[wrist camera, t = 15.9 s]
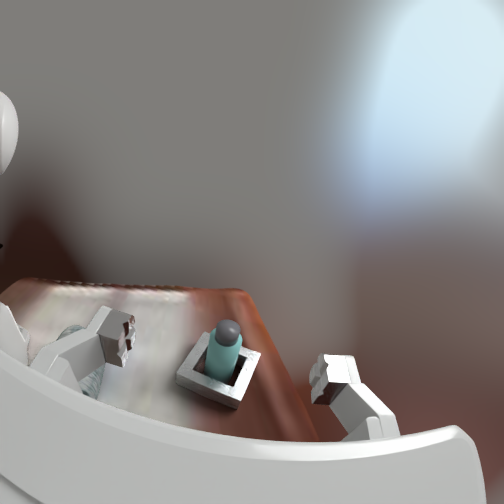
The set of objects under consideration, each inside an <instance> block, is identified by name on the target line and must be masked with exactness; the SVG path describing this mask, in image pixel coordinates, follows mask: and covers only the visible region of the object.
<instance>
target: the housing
mask: <svg viewBox="0 0 504 504" xmlns="http://www.w3.org/2000/svg"><path fill="white" fill-rule="evenodd" d="M209 338H210V334H209V333H207V332H204V333H203V334H202V336H201V337H200V339H199V340H198V342H197V343H196V345H195V346H194V348H193V349H192V350H191V352H190V353H189V355H188V356H187V358H186V359H185V361H184V362H183V364H182V365H181V366H180V368H179V369H178V371H177V372H176V384H178V385H180V386H183V387H185V388H187V389H189V390H191V391H193V392H195V393H198V394H200V395H202V396H204V397H207V398H209V399H211V400H214V401H216V402H218V403H221V404H223V405H226V406H228V407H231V408H233V409H236V410H237V409H238V407H239V404H240V402H241V400H242V397H243V395H244V393H245V391H246V388H247V386H248V383H249V381H250V379H251V376H252V374H253V372H254V369H255V367H256V364H257V362H258V359H259V357H260V353H257V352H254V351H252V350H249V349H247V348H244V347H241V348H240V351H239V354H238V358H237V361H236V364H235V365H237V366H240V367H242V370H241V372H240V374H239V376H238V378H237V381H236V383H235V385H234V387H231V386H229V385H226V384H224V383H222V382H219V381H217V380H214V379H212V378H210V377H207V376H205V375H203V374H201V373H198V372H197V370H198V368H199V367H200V365H201V364H202V362H203V360H204V359H205V357H206V355H207V349H208V343H209Z"/></svg>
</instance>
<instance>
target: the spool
mask: <svg viewBox="0 0 504 504" xmlns="http://www.w3.org/2000/svg"><path fill="white" fill-rule="evenodd" d="M81 329H86V328H84V327H82V326H78V325H72V326H70V327H68V328H67V329H65V330H64V331H63V332H62V333H61V335H60V336H59V337H58V339H57V340H59V339H61V338H63V337H65V336H68V335H70V334H72V333H74V332H76V331H79V330H81ZM57 340H56V341H57ZM104 368H105V364H104V365H102V366H101V367H99V368H98V369H97V370H95V371H94V372H92V373H91V374H89V375H88V376H86V377H85V378H84V379H82V380H81V381H79V382H78V384H79V386H80V388H81V390H82V392H83V394H84V395H86V396H89V397H91V398H93V399H96V400H97V396H98V393H99V390H100V385H101V381H102V377H103V373H104Z"/></svg>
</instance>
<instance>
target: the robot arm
mask: <svg viewBox="0 0 504 504" xmlns="http://www.w3.org/2000/svg"><path fill="white" fill-rule="evenodd" d="M17 139H18V118H17V114H16V110H15V108H14V106H13V104H12V102H11V101H10V99H9V98H8V97H7V96H6V95H5V94H3V93H2V92H0V174H2V173H3V172H4V171H5V169H6V168H7V166H8V164H9V163H10V161H11V159H12V156H13V154H14V151H15V148H16V144H17ZM134 323H135V319H134V316H133V315H130V314H127V313H124V312H121V311H118V310H115V309H111V308H108V307H106V306H102V307H100V309H99V310H98V312H97V313H96V314H95V316H94V317H93V319H92V320H91V322H90V323H89V325H88V326H87V328H86V329H81V330H79V331H76V332H74V333H72V334H70V335H68V336H65V337H63V338H61V339H59V340H57V341H55V342H52V343H50V344H48V345H46V346H44V347H42V348H41V350H40V351H39V353H38V354H37V356H36V357H35V359H34V360H33V362H32V363H31V365H30V366H28V354H27V346H28V344H29V340H30V335H29V333H28V331H27V330H26V329H24V328H22V327H21V326H19V325H18V324H16V322H15V320H14V318H13V315H12V313H11V311H10V309H9V307H8V306H5V305H4V304H3V303H1V302H0V504H486V495H485V487H484V480H483V474H482V469H481V465H480V460H479V456H478V452H477V449H476V446H475V444H474V442H473V440H472V439H471V438H470V437H469V436H468V435H467V434H466V433H465V432H464V431H463V430H462V429H460V428H459V427H458V426H456V425H451V426H447V427H443V428H439V429H434V430H430V431H425V432H420V433H415V434H409V435H404V436H400V433H399V429H398V425H397V422H396V418H395V415H394V414H393V413H392V412H391V411H390V410H389V409H388V408H387V407H386V406H385V405H384V404H383V403H382V402H381V401H380V400H379V399H378V398H377V397H376V396H375V395H374V394H373V393H372V392H371V391H370V390H369V389H368V388H367V386H366V385H365V384H361V381H360V378H359V374H358V371H357V367H356V364H355V360H354V357H353V356H348V355H337V354H326V353H322V354H320V355H319V357H318V363H316V364H314V365H313V367H312V369H311V372H310V384H311V386H312V387H313V390H312V391H311V396H312V403H313V404H321V405H329V406H330V408H331V409H332V411H333V412H334V413H335V415H336V416H337V418H338V419H339V420H340V422H341V423H342V425H343V426H344V428H345V429H346V430H347V432H348V433H349V435H348V436H346V437H345V438H344V439H343V440H342V441H341V442H283V441H269V440H258V439H249V438H241V437H233V436H227V435H220V434H214V433H209V432H204V431H199V430H194V429H189V428H185V427H180V426H176V425H172V424H168V423H164V422H161V421H157V420H154V419H150V418H147V417H143V416H140V415H137V414H134V413H131V412H128V411H125V410H122V409H119V408H117V407H114V406H111V405H108V404H106V403H103V402H101V401H98V400H96V399H93V398H91V397H89V396H86V395H84V394H83V392H82V390H81V388H80V386H79V384H78V382H79V381H81V380H82V379H84V378H85V377H86V376H88V375H89V374H91V373H92V372H94V371H95V370H97V369H98V368H99V367H101V366H102V365H104V364H105V363H106V362H107V363H110V364H113V365H116V366H120V367H124V364H125V362H126V360H127V358H128V352H127V351H129V350H131V349H132V347H133V345H134V342H135V337H136V329H135V328H134V327H133V325H134Z"/></svg>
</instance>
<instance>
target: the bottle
mask: <svg viewBox="0 0 504 504" xmlns="http://www.w3.org/2000/svg"><path fill="white" fill-rule="evenodd" d="M241 344H242V337H241V335H240V327H239V325H238V324H237V323H236V322H234V321H231V320H222V321H220V322H218V324H217V326H216V328H215V329H214V330H212V332H211V333H210V338H209V343H208V349H207V355H206V361H205V367H204V375H205V376H207V377H210V378H212V379H214V380H217V381H219V382H222V383H224V384H227V383H228V382H229V381H230V380H231V377H232V374H233V371H234V368H235V364H236V361H237V358H238V354H239V351H240V348H241Z"/></svg>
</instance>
